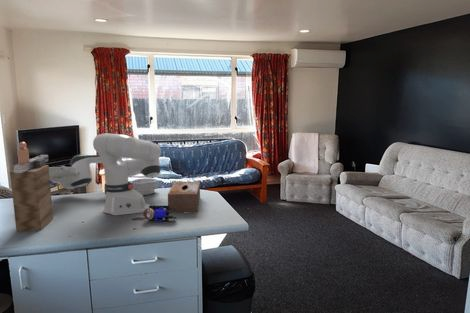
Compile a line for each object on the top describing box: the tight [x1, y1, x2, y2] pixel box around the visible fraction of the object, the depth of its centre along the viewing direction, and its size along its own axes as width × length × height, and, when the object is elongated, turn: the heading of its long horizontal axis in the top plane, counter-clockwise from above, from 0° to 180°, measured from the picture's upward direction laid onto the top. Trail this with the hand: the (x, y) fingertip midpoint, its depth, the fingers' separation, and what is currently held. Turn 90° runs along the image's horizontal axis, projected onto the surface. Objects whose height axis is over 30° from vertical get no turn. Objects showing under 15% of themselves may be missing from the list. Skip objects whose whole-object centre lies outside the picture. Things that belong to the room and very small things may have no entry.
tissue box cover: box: [167, 181, 201, 214], centre depth 184 cm, size 26×14×10 cm, turn 3°
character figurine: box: [143, 204, 177, 223], centre depth 160 cm, size 8×7×15 cm
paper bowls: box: [130, 177, 158, 196], centre depth 207 cm, size 15×15×8 cm
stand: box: [9, 158, 54, 232], centre depth 153 cm, size 10×14×29 cm
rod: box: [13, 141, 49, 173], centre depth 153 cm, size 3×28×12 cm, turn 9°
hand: (52, 167), depth 177 cm, fingers open, 8 cm apart
